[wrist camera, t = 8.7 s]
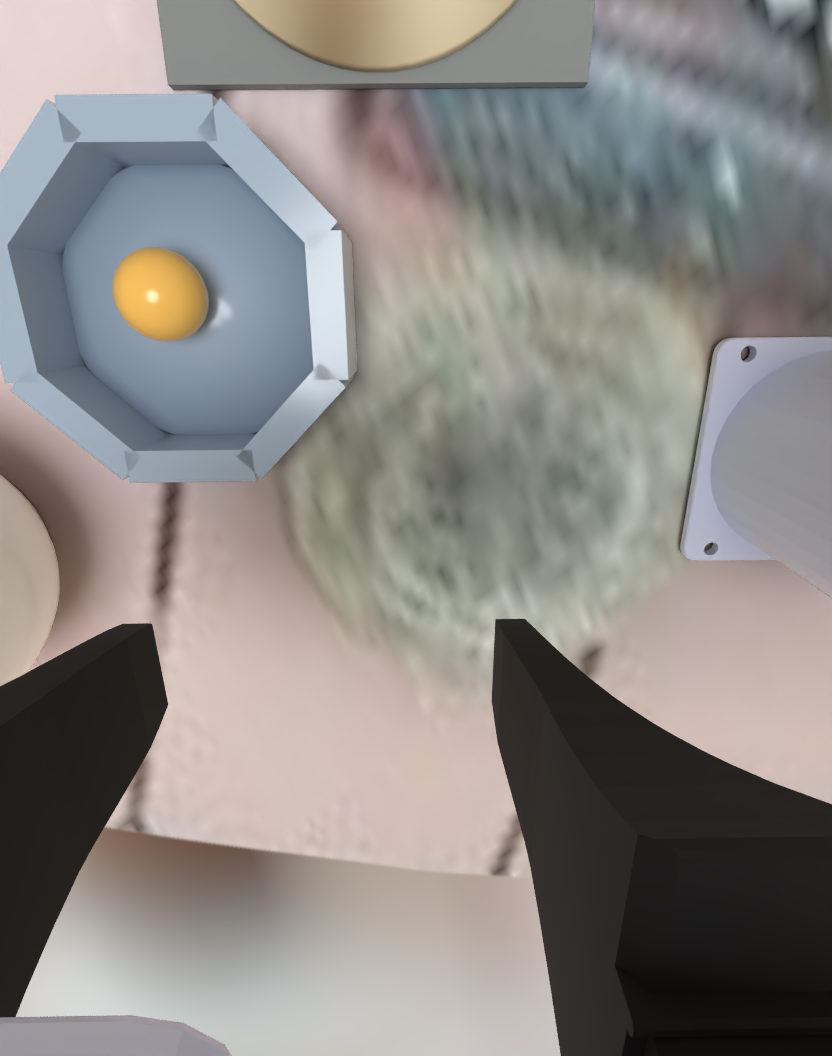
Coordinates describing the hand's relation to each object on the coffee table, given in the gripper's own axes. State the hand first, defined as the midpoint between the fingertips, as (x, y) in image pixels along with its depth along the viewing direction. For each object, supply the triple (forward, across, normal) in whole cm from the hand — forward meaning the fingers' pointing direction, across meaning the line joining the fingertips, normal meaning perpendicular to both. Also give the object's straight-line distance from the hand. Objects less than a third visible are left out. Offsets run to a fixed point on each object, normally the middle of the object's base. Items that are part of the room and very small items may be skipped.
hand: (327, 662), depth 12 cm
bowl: (+10, +5, -7) cm, 13 cm away
